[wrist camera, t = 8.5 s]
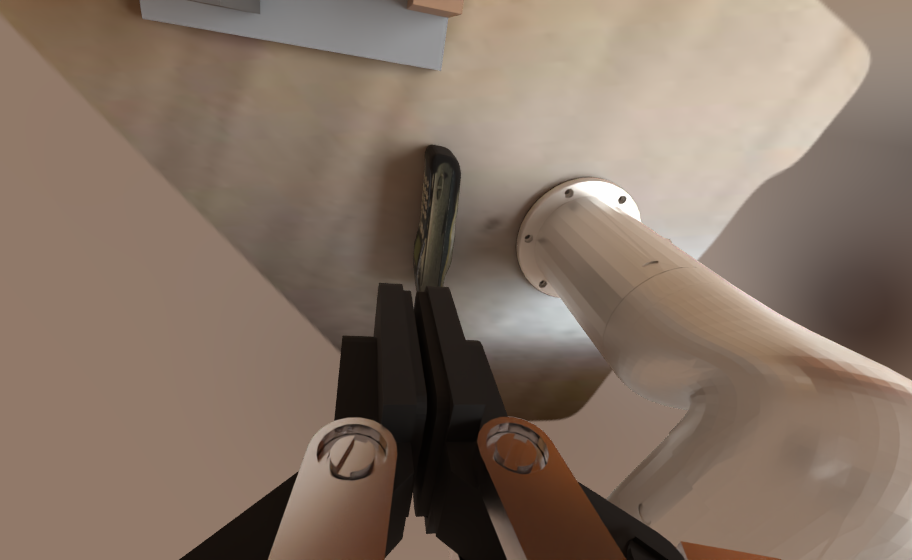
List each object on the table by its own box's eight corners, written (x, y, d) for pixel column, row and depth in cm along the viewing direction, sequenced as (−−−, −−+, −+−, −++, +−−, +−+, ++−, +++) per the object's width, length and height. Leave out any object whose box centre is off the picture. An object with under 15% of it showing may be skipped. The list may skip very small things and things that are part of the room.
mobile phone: (427, 153, 33) (413, 323, 40) (466, 157, 34) (446, 323, 40) (420, 142, 37) (409, 296, 44) (455, 145, 38) (439, 296, 44)
